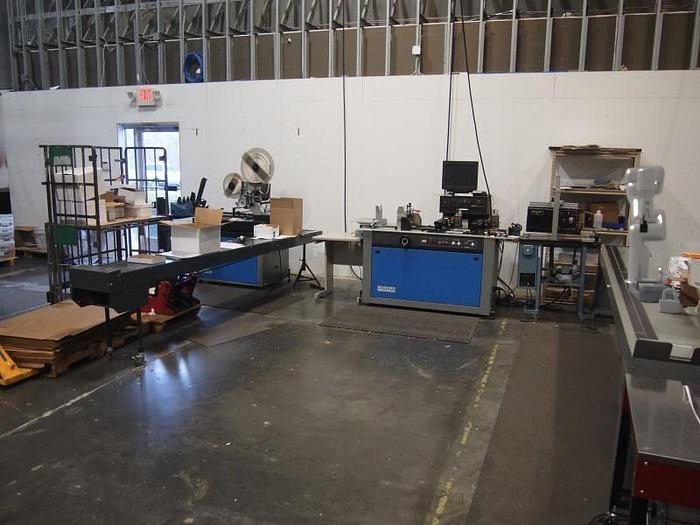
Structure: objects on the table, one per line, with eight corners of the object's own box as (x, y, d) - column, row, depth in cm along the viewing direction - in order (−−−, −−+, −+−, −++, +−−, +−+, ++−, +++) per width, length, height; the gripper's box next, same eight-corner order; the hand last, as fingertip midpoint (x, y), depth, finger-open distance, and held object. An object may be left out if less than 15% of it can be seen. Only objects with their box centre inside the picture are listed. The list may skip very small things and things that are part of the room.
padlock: (659, 312, 222) (660, 288, 221) (658, 310, 226) (659, 287, 224) (679, 313, 219) (680, 289, 217) (678, 311, 222) (679, 288, 221)
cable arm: (656, 288, 266) (657, 267, 265) (663, 288, 265) (665, 267, 264) (669, 299, 241) (670, 277, 240) (677, 299, 240) (678, 277, 239)
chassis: (628, 290, 267) (629, 276, 266) (658, 291, 263) (659, 277, 262) (639, 301, 243) (639, 286, 242) (671, 302, 238) (672, 287, 237)
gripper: (657, 194, 248) (655, 234, 250) (650, 193, 262) (648, 231, 264) (639, 194, 250) (637, 234, 253) (633, 194, 264) (631, 231, 267)
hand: (643, 232), depth 258 cm, fingers closed
